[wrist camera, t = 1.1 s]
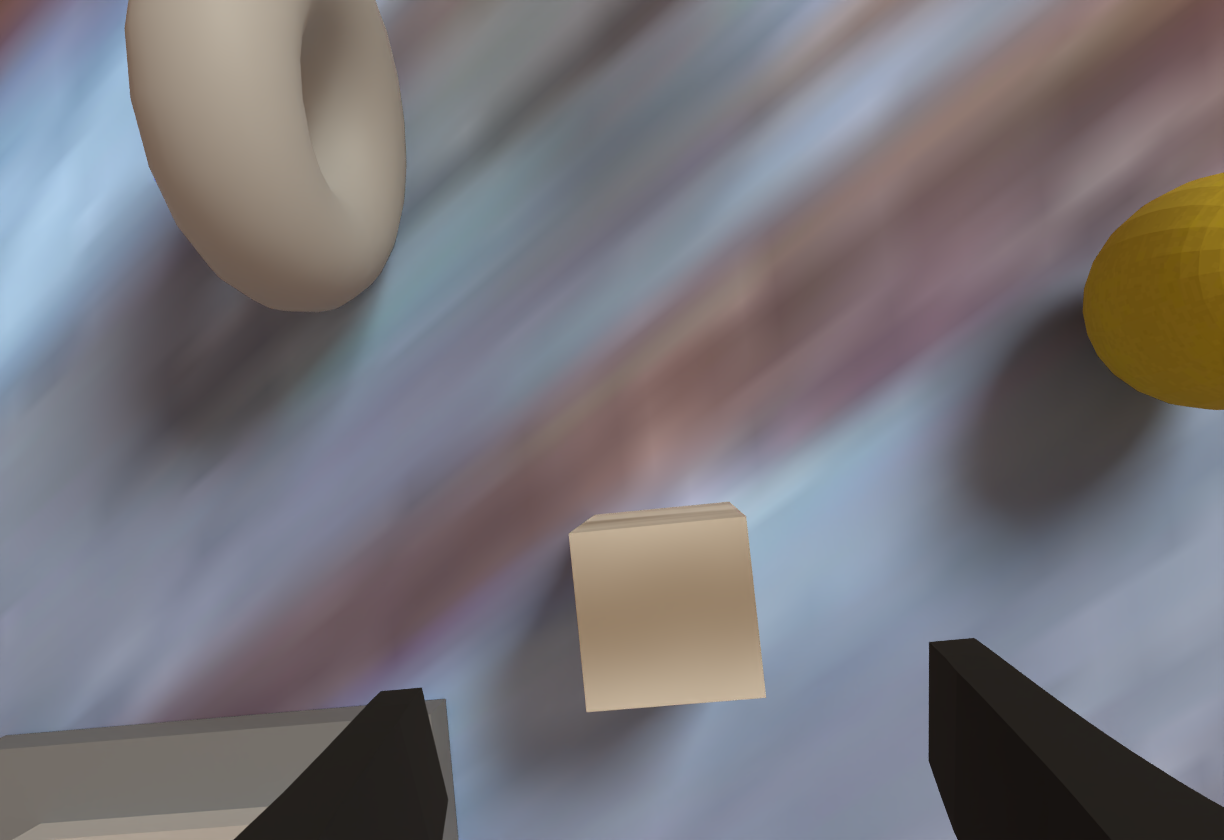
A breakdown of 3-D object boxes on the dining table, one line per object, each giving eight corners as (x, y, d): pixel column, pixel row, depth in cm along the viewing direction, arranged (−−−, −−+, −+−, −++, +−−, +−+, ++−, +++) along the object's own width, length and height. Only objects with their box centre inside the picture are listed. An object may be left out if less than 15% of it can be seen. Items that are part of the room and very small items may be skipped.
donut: (313, 23, 26) (90, -241, 16) (421, 18, 26) (261, -255, 16) (311, 340, 26) (80, 268, 16) (420, 338, 26) (255, 263, 16)
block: (743, 638, 24) (765, 697, 18) (608, 650, 25) (586, 711, 19) (728, 501, 25) (746, 515, 19) (594, 514, 25) (568, 533, 19)
